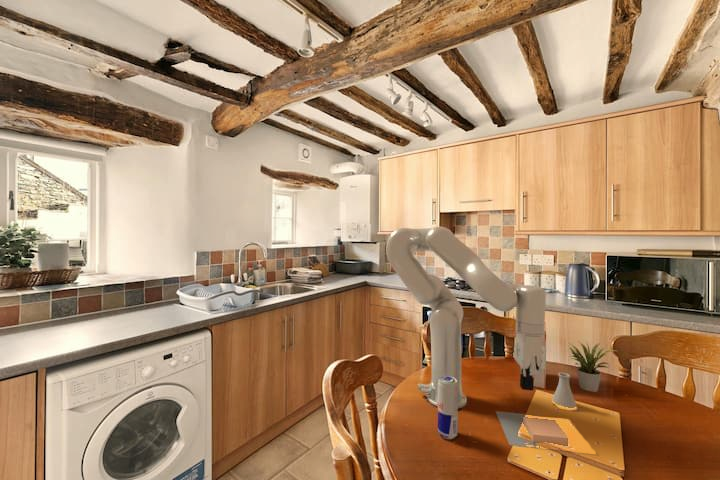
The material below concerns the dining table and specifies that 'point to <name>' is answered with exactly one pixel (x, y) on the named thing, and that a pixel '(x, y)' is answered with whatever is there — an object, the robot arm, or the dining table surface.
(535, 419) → the tile
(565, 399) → the flask
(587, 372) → the house plant
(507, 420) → the mat
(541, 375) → the cracker box
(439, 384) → the beverage can
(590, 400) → the dining table surface
